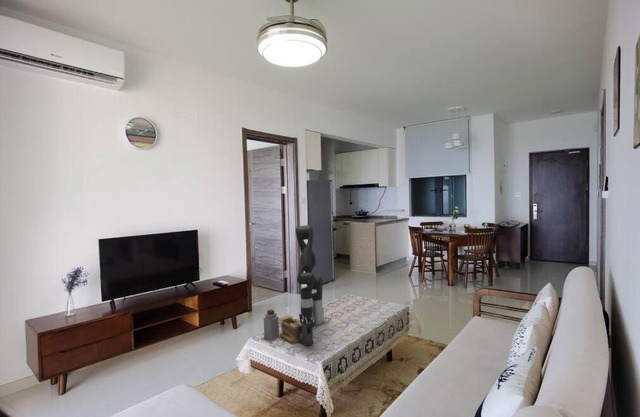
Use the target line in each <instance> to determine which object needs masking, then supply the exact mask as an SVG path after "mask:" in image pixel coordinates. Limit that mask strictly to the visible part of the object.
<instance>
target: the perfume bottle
mask: <svg viewBox="0 0 640 417" xmlns="http://www.w3.org/2000/svg"><path fill="white" fill-rule="evenodd" d="M279 318H280V317H279V316H278V313H277V312H275V310H274V309H271V308H270V309H268V310H267V311H266V313H264V317H263V336H264V337H263V339H265V340H268V341H270V342H272V341H274V340H277V339H279V338H280V335H279V334H280V324H279Z"/></svg>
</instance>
